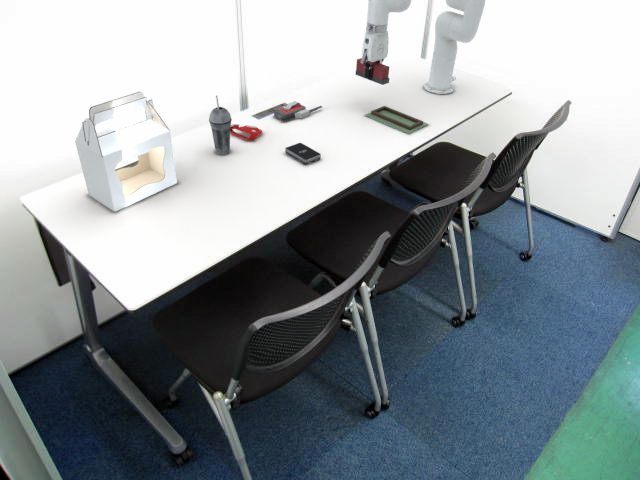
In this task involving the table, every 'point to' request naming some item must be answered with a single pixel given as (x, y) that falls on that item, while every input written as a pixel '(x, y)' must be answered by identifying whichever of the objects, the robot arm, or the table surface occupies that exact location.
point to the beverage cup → (220, 129)
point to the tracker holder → (248, 129)
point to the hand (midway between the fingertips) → (372, 76)
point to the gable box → (125, 153)
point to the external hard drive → (303, 153)
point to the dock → (396, 119)
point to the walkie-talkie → (292, 111)
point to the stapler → (374, 72)
